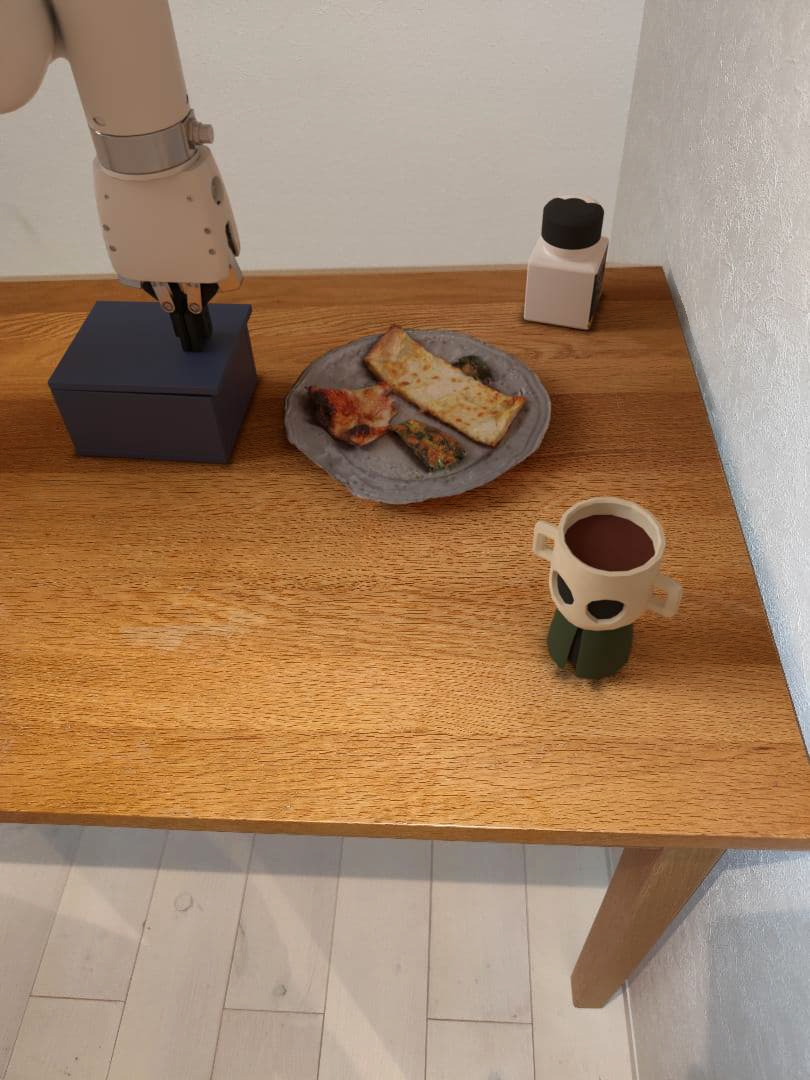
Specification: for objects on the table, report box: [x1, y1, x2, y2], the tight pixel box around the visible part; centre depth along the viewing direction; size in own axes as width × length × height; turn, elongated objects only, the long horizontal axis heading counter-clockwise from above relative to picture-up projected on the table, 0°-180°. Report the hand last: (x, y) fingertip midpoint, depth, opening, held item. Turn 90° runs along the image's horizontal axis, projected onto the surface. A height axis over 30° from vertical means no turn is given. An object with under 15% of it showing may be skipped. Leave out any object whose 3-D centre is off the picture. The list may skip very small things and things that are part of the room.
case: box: [50, 325, 259, 464], centre depth 85 cm, size 15×13×8 cm
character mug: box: [531, 496, 684, 681], centre depth 63 cm, size 11×7×13 cm, turn 55°
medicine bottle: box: [523, 194, 610, 331], centre depth 93 cm, size 7×7×12 cm
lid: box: [46, 300, 253, 395], centre depth 81 cm, size 15×13×1 cm
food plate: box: [282, 322, 552, 505], centre depth 84 cm, size 25×23×4 cm
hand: (196, 342), depth 80 cm, fingers closed
